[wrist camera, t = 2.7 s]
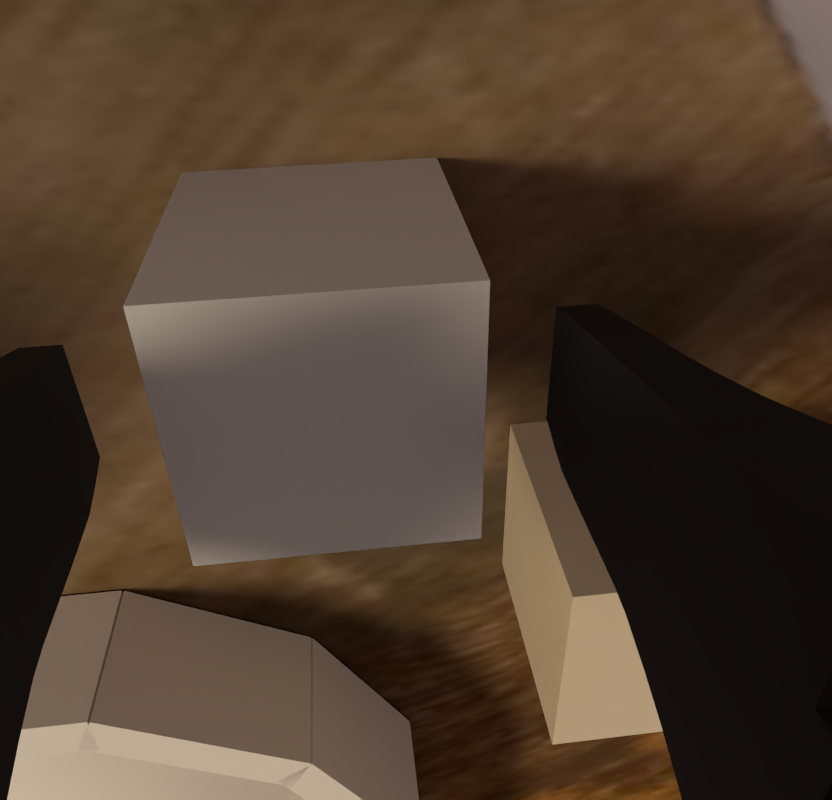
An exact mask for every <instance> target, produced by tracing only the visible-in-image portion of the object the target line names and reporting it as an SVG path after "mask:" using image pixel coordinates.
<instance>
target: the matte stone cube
mask: <svg viewBox="0 0 832 800" xmlns="http://www.w3.org/2000/svg"><path fill="white" fill-rule="evenodd" d="M489 302H490V279H489V276H488V274H487V272H486V269H485V267H484V265H483V263H482V260H481V258H480V256H479V253H478V251H477V249H476V246H475V244H474V242H473V240H472V237H471V235H470V233H469V230H468V228H467V226H466V224H465V221H464V219H463V217H462V214H461V212H460V210H459V207H458V205H457V203H456V201H455V198H454V196H453V194H452V191H451V189H450V187H449V184H448V182H447V180H446V178H445V175H444V173H443V171H442V168H441V166H440V164H439V161H438V159H437V158H421V159H404V160H387V161H369V162H352V163H335V164H318V165H300V166H283V167H266V168H249V169H231V170H214V171H197V172H182V173H181V175H180V178H179V180H178V182H177V185H176V187H175V189H174V191H173V194H172V196H171V198H170V201H169V203H168V205H167V207H166V210H165V212H164V214H163V216H162V219H161V221H160V223H159V226H158V228H157V230H156V232H155V235H154V237H153V239H152V242H151V244H150V246H149V248H148V251H147V253H146V255H145V258H144V260H143V262H142V264H141V267H140V269H139V271H138V273H137V276H136V278H135V280H134V283H133V285H132V287H131V289H130V292H129V294H128V296H127V299H126V301H125V303H124V305H123V308H124V311H125V315H126V319H127V323H128V326H129V330H130V334H131V337H132V341H133V345H134V348H135V352H136V356H137V360H138V363H139V367H140V371H141V374H142V378H143V382H144V385H145V389H146V393H147V396H148V400H149V404H150V408H151V411H152V415H153V419H154V422H155V426H156V430H157V433H158V437H159V441H160V444H161V448H162V452H163V456H164V459H165V463H166V467H167V470H168V474H169V478H170V481H171V485H172V489H173V493H174V496H175V500H176V504H177V507H178V511H179V515H180V518H181V522H182V526H183V529H184V533H185V537H186V541H187V544H188V548H189V552H190V555H191V559H192V563H193V566H201V565H211V564H221V563H232V562H242V561H252V560H263V559H273V558H283V557H293V556H304V555H314V554H324V553H335V552H345V551H355V550H366V549H376V548H386V547H397V546H407V545H417V544H427V543H438V542H448V541H458V540H469V539H479V538H481V529H482V501H483V472H484V444H485V415H486V387H487V359H488V330H489Z"/></svg>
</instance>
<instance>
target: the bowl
mask: <svg viewBox="0 0 832 800" xmlns="http://www.w3.org/2000/svg"><path fill="white" fill-rule="evenodd" d="M7 800H419V796H418V787H417V779H416V770H415V761H414V753H413V744H412V735H411V727H410V721H409V720H408V719H406V718H405V717H404V716H403V715H402V714H401V713H399V712H398V711H397V710H396V709H395V708H394V707H392V706H391V705H390V704H389V703H388V702H387V701H385V700H384V699H383V698H382V697H381V696H380V695H378V694H377V693H376V692H375V691H374V690H373V689H371V688H370V687H369V686H368V685H367V684H366V683H364V682H363V681H362V680H361V679H360V678H359V677H357V676H356V675H355V674H354V673H353V672H352V671H350V670H349V669H348V668H347V667H346V666H345V665H343V664H342V663H341V662H340V661H339V660H338V659H336V658H335V657H334V656H333V655H332V654H331V653H329V652H328V651H327V650H326V649H325V648H324V647H322V646H321V645H320V644H319V643H318V642H317V641H316V640H314V639H313V638H312V639H311V637H308V636H304V635H300V634H296V633H292V632H288V631H284V630H280V629H276V628H272V627H268V626H264V625H260V624H256V623H252V622H248V621H244V620H240V619H236V618H232V617H228V616H224V615H220V614H216V613H212V612H208V611H204V610H200V609H196V608H192V607H188V606H184V605H180V604H176V603H172V602H168V601H164V600H160V599H156V598H152V597H148V596H144V595H140V594H136V593H132V592H128V591H124V592H122V590H121V591H111V592H101V593H91V594H81V595H70V596H61V597H60V600H59V603H58V606H57V609H56V611H55V614H54V617H53V620H52V623H51V625H50V628H49V631H48V634H47V637H46V639H45V642H44V645H43V648H42V651H41V655H40V658H39V661H38V664H37V668H36V671H35V674H34V678H33V682H32V686H31V691H30V695H29V699H28V704H27V708H26V712H25V717H24V721H23V725H22V730H21V734H20V738H19V743H18V748H17V753H16V758H15V763H14V767H13V772H12V777H11V782H10V787H9V792H8V797H7Z"/></svg>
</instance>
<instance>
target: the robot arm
mask: <svg viewBox="0 0 832 800" xmlns="http://www.w3.org/2000/svg"><path fill="white" fill-rule="evenodd" d="M546 418H547V422H548V426H549V429H550V433H551V436H552V440H553V444H554V447H555V451H556V454H557V457H558V460H559V464H560V467H561V470H562V473H563V475H564V477H565V479H566V482H567V484H568V486H569V488H570V491H571V493H572V495H573V497H574V500H575V502H576V504H577V506H578V508H579V511H580V513H581V515H582V517H583V519H584V521H585V524H586V526H587V528H588V530H589V532H590V534H591V537H592V539H593V541H594V543H595V545H596V547H597V549H598V552H599V554H600V556H601V558H602V560H603V562H604V565H605V567H606V569H607V571H608V573H609V575H610V578H611V580H612V582H613V584H614V586H615V589H616V591H617V594H618V596H619V599H620V601H621V604H622V606H623V609H624V611H625V614H626V617H627V620H628V623H629V626H630V629H631V632H632V635H633V638H634V641H635V644H636V647H637V650H638V653H639V656H640V659H641V662H642V665H643V668H644V671H645V674H646V678H647V681H648V684H649V687H650V691H651V694H652V697H653V700H654V704H655V707H656V710H657V713H658V717H659V720H660V723H661V726H662V730H663V733H664V736H665V740H666V744H667V747H668V751H669V754H670V758H671V761H672V765H673V768H674V772H675V776H676V779H677V783H678V786H679V790H680V793H681V797H682V800H832V425H831V424H828V423H826V422H823V421H820V420H818V419H816V418H813V417H811V416H808V415H806V414H804V413H801V412H799V411H796V410H794V409H792V408H789V407H787V406H784V405H782V404H779V403H777V402H775V401H773V400H771V399H768V398H766V397H764V396H762V395H760V394H758V393H755V392H753V391H751V390H749V389H747V388H746V387H744V386H742V385H740V384H738V383H736V382H734V381H732V380H730V379H728V378H726V377H724V376H722V375H720V374H718V373H716V372H714V371H713V370H711V369H709V368H707V367H705V366H703V365H702V364H700V363H698V362H696V361H694V360H693V359H691V358H689V357H687V356H686V355H684V354H682V353H680V352H679V351H677V350H675V349H674V348H672V347H670V346H669V345H667V344H665V343H663V342H662V341H660V340H658V339H657V338H655V337H653V336H652V335H650V334H648V333H647V332H645V331H644V330H642V329H640V328H639V327H637V326H635V325H634V324H632V323H630V322H629V321H627V320H625V319H623V318H622V317H620V316H618V315H616V314H615V313H613V312H611V311H609V310H607V309H605V308H603V307H601V306H599V305H597V304H594V305H581V306H567V307H557V308H556V319H555V330H554V340H553V351H552V362H551V373H550V384H549V394H548V405H547V416H546ZM99 459H100V456H99V453H98V450H97V447H96V444H95V441H94V438H93V435H92V432H91V429H90V426H89V423H88V420H87V417H86V414H85V411H84V408H83V405H82V402H81V399H80V396H79V393H78V390H77V387H76V384H75V381H74V378H73V375H72V372H71V369H70V366H69V363H68V360H67V357H66V354H65V351H64V348H63V345H54V346H41V347H28V348H18V349H16V350H14V351H12V352H10V353H8V354H6V355H5V356H3V357H1V358H0V800H7V797H8V792H9V787H10V782H11V777H12V772H13V767H14V763H15V758H16V753H17V748H18V743H19V738H20V734H21V730H22V725H23V721H24V717H25V712H26V708H27V704H28V699H29V695H30V691H31V686H32V682H33V678H34V674H35V671H36V668H37V664H38V661H39V658H40V655H41V651H42V648H43V645H44V642H45V639H46V637H47V634H48V631H49V628H50V625H51V623H52V620H53V617H54V614H55V611H56V609H57V606H58V603H59V600H60V597H61V595H62V592H63V589H64V586H65V583H66V581H67V578H68V575H69V572H70V570H71V567H72V564H73V561H74V558H75V555H76V552H77V550H78V547H79V544H80V541H81V538H82V535H83V532H84V529H85V526H86V523H87V520H88V517H89V514H90V509H91V504H92V499H93V494H94V489H95V483H96V477H97V471H98V465H99Z"/></svg>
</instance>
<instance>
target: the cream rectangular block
mask: <svg viewBox="0 0 832 800" xmlns="http://www.w3.org/2000/svg"><path fill="white" fill-rule="evenodd" d="M502 564H503V568H504V571H505V575H506V578H507V582H508V586H509V589H510V593H511V597H512V600H513V604H514V607H515V611H516V615H517V618H518V622H519V625H520V629H521V633H522V636H523V640H524V643H525V647H526V651H527V654H528V658H529V662H530V665H531V669H532V672H533V676H534V680H535V683H536V687H537V690H538V694H539V698H540V701H541V705H542V708H543V712H544V716H545V719H546V723H547V727H548V730H549V734H550V737H551V741H552V745H553V744H561V743H569V742H577V741H586V740H594V739H602V738H610V737H619V736H627V735H635V734H644V733H652V732H660V731H663V730H662V726H661V723H660V720H659V717H658V713H657V710H656V707H655V704H654V700H653V697H652V694H651V691H650V687H649V684H648V681H647V678H646V674H645V671H644V668H643V665H642V662H641V659H640V656H639V653H638V650H637V647H636V644H635V641H634V638H633V635H632V632H631V629H630V626H629V623H628V620H627V617H626V614H625V611H624V609H623V606H622V604H621V601H620V599H619V596H618V594H617V591H616V589H615V586H614V584H613V582H612V580H611V578H610V575H609V573H608V571H607V569H606V567H605V565H604V562H603V560H602V558H601V556H600V554H599V552H598V549H597V547H596V545H595V543H594V541H593V539H592V537H591V534H590V532H589V530H588V528H587V526H586V524H585V521H584V519H583V517H582V515H581V513H580V511H579V508H578V506H577V504H576V502H575V500H574V497H573V495H572V493H571V491H570V488H569V486H568V484H567V482H566V479H565V477H564V475H563V473H562V470H561V467H560V464H559V460H558V457H557V454H556V451H555V447H554V444H553V440H552V436H551V433H550V429H549V426H548V422H547V421H545V422H533V423H522V424H510V441H509V458H508V475H507V492H506V509H505V526H504V543H503V561H502Z"/></svg>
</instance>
